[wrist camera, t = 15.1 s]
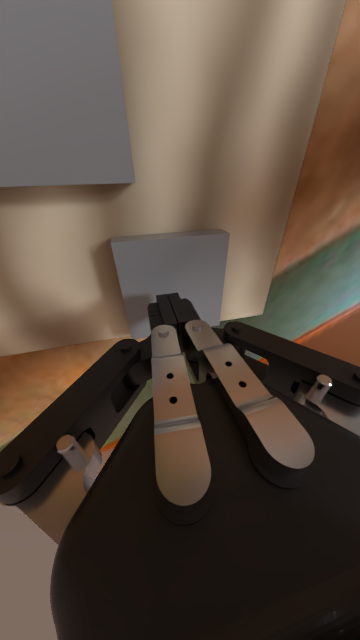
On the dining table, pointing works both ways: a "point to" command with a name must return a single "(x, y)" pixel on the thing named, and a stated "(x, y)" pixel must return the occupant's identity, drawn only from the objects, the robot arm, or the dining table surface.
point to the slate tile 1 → (61, 95)
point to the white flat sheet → (175, 163)
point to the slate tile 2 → (171, 272)
